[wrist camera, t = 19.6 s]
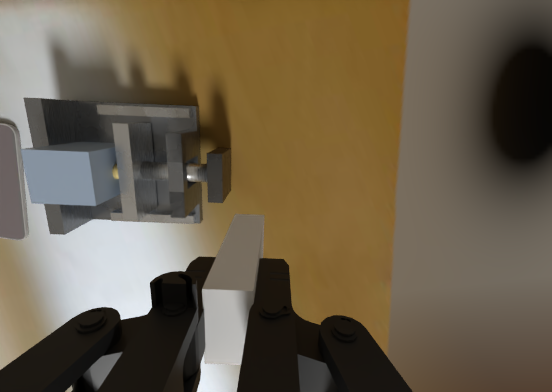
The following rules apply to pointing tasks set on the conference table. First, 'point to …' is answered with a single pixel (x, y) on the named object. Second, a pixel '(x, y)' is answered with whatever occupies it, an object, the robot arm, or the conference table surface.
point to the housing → (72, 173)
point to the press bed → (98, 128)
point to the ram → (160, 170)
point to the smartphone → (12, 186)
